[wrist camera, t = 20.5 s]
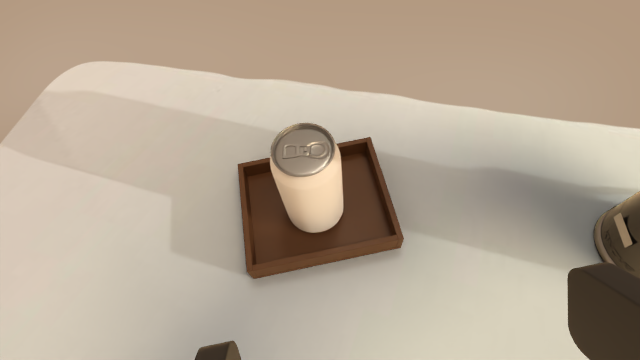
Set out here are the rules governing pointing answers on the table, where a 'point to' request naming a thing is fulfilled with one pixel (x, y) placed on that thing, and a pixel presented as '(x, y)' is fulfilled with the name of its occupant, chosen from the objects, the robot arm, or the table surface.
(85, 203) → the table surface
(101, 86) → the table surface
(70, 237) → the table surface
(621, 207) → the robot arm
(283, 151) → the can
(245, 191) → the tray
